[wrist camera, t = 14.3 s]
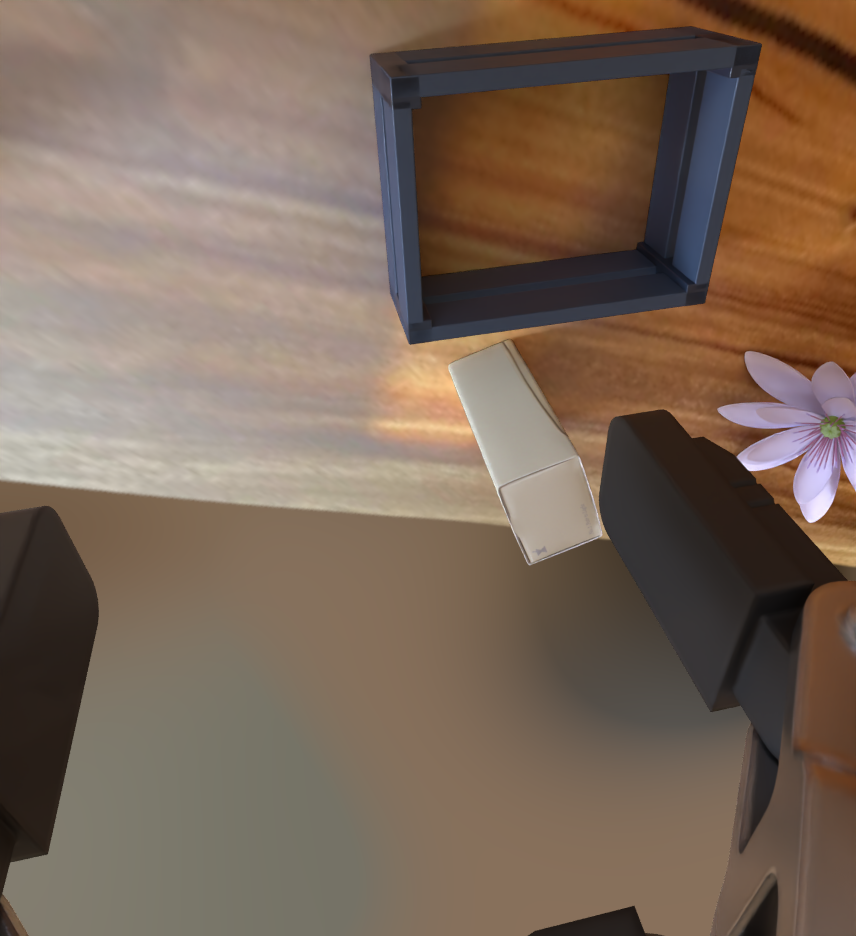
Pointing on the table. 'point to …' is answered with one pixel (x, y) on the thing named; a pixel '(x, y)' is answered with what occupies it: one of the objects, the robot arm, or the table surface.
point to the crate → (588, 277)
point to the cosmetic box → (526, 453)
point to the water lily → (802, 427)
